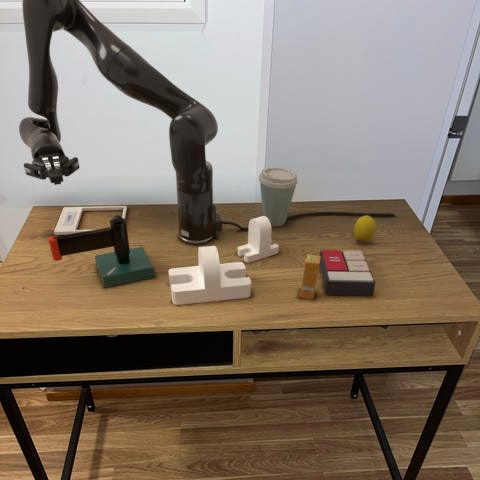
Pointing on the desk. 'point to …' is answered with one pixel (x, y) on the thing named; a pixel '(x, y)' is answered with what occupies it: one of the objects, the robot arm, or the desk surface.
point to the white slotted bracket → (209, 280)
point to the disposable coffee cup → (277, 193)
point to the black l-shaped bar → (93, 240)
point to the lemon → (364, 228)
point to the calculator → (346, 273)
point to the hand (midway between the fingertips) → (57, 180)
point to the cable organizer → (258, 241)
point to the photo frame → (78, 218)
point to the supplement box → (310, 276)
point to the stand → (124, 267)
